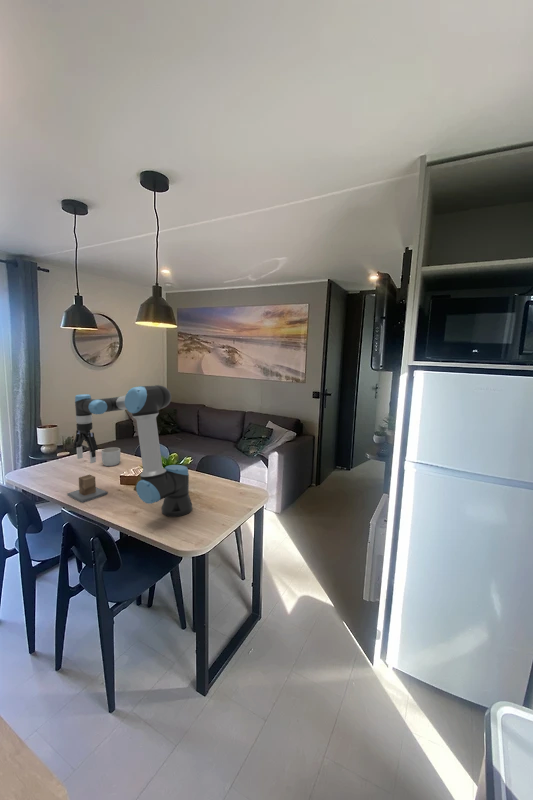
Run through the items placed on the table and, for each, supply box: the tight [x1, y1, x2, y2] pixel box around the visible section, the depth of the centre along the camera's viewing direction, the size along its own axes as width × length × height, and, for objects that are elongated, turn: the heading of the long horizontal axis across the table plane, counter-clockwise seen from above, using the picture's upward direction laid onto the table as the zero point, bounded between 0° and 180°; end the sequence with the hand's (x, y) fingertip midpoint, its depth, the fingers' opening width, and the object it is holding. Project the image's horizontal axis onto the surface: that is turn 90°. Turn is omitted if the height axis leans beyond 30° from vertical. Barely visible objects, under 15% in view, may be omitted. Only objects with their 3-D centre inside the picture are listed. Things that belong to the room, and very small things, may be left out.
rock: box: [133, 473, 141, 491], centre depth 192 cm, size 11×9×10 cm
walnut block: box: [78, 474, 97, 496], centre depth 179 cm, size 6×6×9 cm
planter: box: [100, 447, 121, 467], centre depth 230 cm, size 12×12×11 cm
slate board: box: [66, 486, 109, 504], centre depth 180 cm, size 16×14×1 cm
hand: (86, 460), depth 177 cm, fingers open, 13 cm apart
